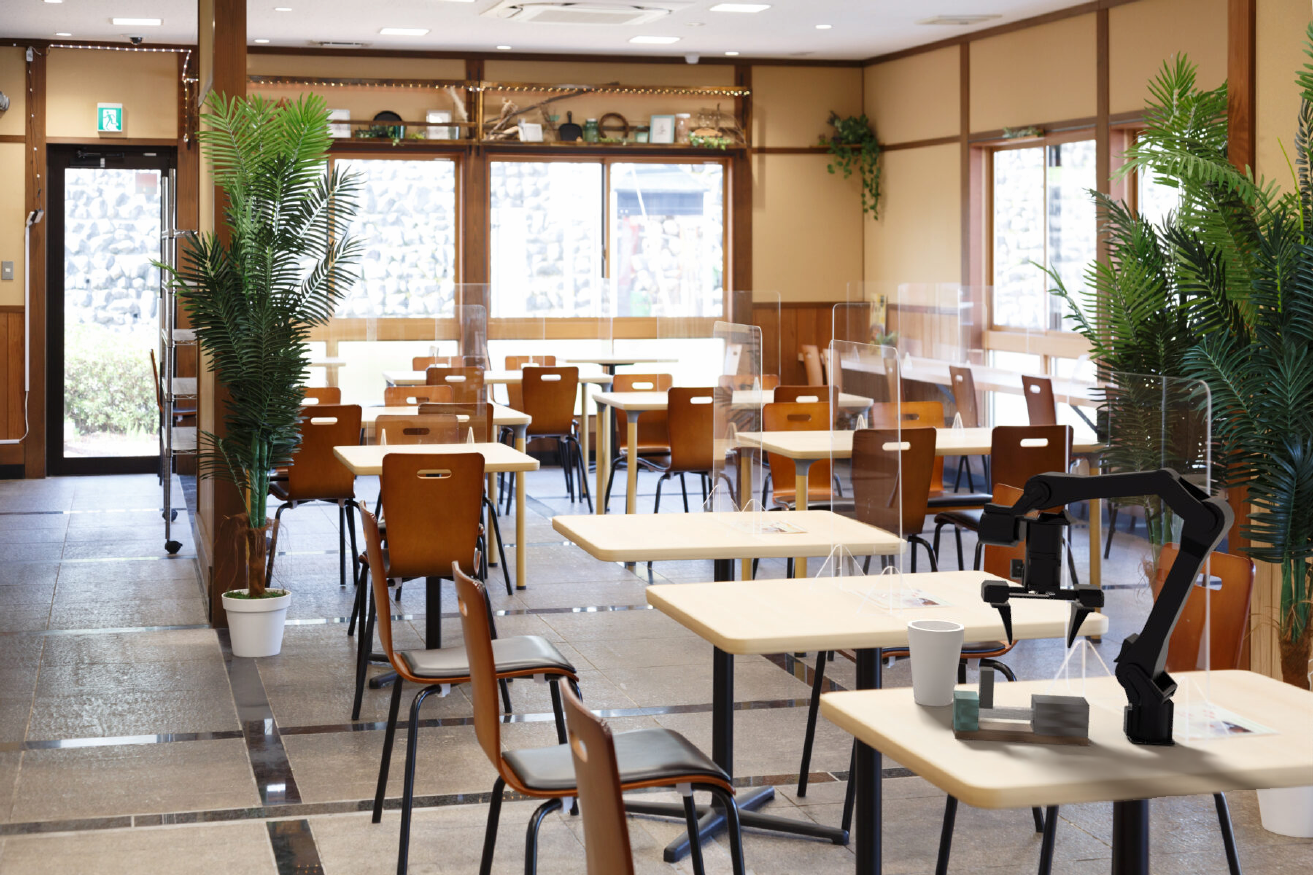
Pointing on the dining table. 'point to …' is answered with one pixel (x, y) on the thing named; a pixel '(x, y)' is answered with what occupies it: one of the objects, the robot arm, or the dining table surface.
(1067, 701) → the wooden long base
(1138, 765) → the dining table surface
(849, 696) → the dining table surface
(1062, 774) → the dining table surface
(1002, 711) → the angled grey metal bar
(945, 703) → the foam cup
